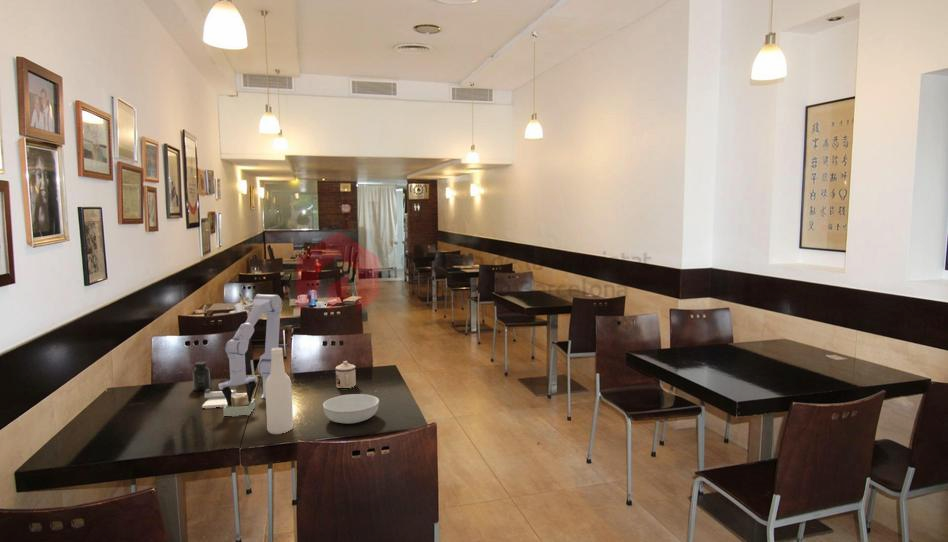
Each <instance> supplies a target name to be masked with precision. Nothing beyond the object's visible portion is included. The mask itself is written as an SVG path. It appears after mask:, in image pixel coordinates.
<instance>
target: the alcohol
mask: <svg viewBox="0 0 948 542" xmlns="http://www.w3.org/2000/svg"><path fill="white" fill-rule="evenodd" d="M283 349H284V348H282V347H278V348H272V349H271V359H270V360H271V373H270V375H269V377H268V378H267V380H266V383H265V392H266V398H265V409H266V430H267V432H268V433H269V434H271V435H283V434H282V433H284V434H286V432H287V433H288V431H289V432H290V430H292V429H293V427H294V419H293V418H294V417H293V413H294V412H293V396H292V395H293V392H292V381H291V377H290V376H289V375H288V374H287V373H286V370H285V367H284V366H285V362H284V359H283V358H284V356H283V353H284V351H283Z"/></svg>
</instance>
